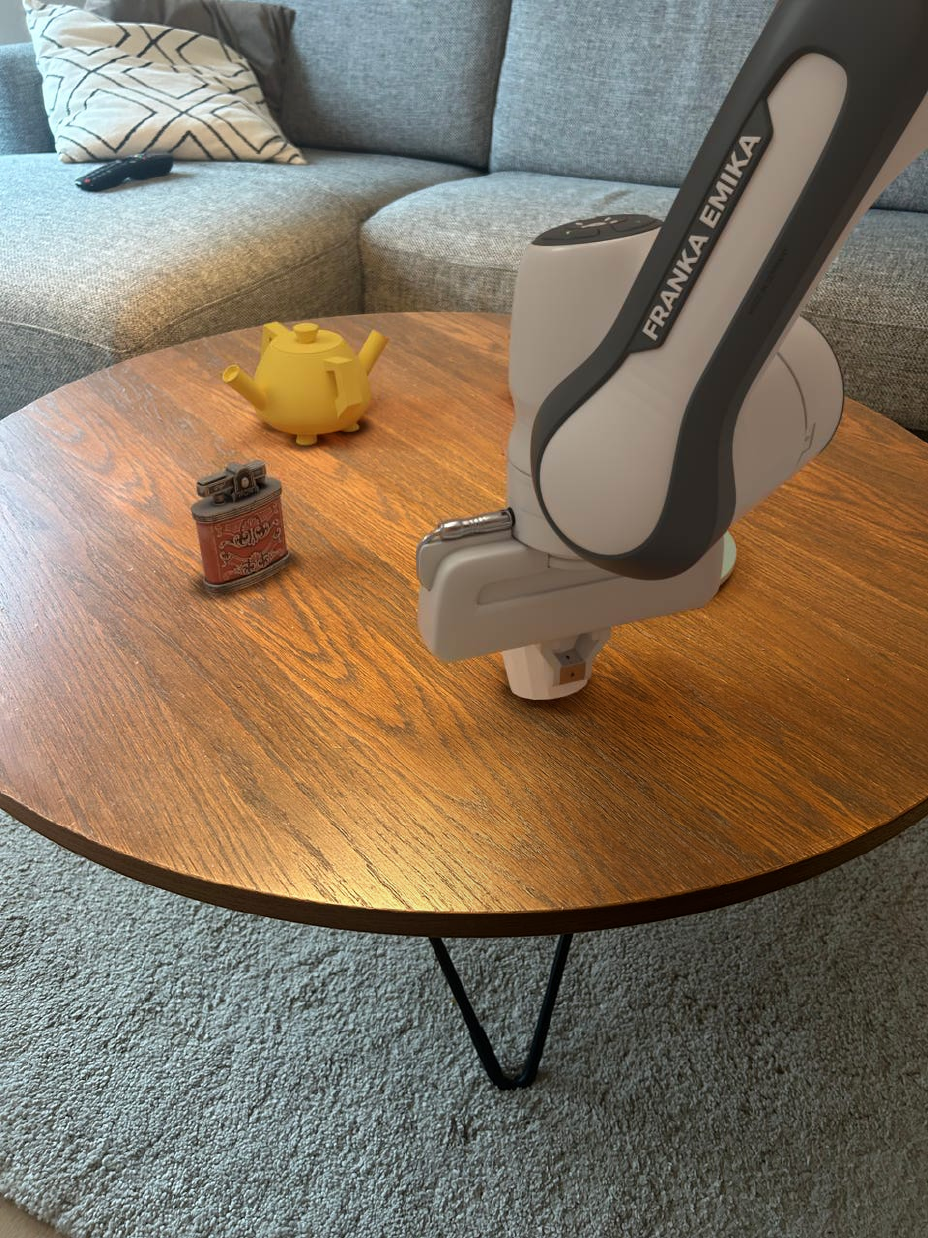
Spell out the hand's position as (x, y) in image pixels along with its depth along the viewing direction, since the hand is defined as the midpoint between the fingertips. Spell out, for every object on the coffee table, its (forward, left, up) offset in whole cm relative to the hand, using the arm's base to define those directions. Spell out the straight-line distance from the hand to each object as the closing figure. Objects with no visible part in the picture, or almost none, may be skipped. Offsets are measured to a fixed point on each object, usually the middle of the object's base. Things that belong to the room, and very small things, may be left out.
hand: (566, 678), depth 69 cm
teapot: (+54, +6, -3) cm, 54 cm away
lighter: (+26, +18, -3) cm, 31 cm away
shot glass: (+3, 0, -3) cm, 4 cm away
